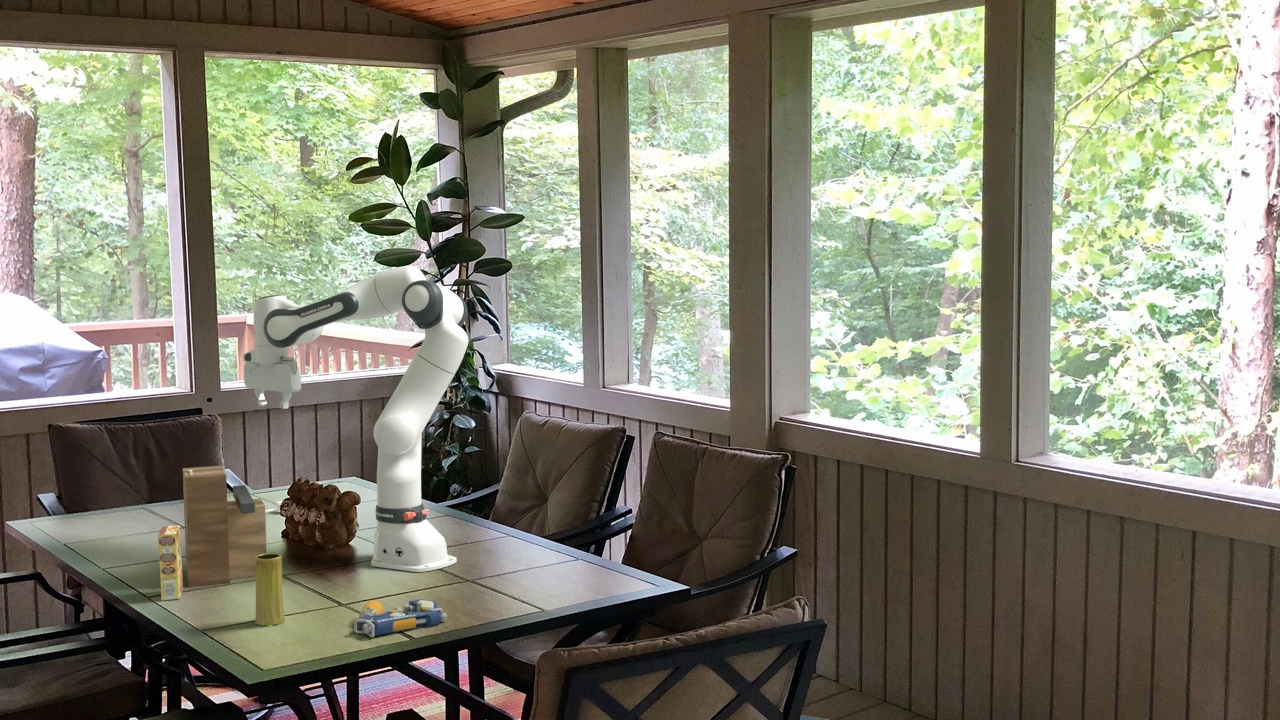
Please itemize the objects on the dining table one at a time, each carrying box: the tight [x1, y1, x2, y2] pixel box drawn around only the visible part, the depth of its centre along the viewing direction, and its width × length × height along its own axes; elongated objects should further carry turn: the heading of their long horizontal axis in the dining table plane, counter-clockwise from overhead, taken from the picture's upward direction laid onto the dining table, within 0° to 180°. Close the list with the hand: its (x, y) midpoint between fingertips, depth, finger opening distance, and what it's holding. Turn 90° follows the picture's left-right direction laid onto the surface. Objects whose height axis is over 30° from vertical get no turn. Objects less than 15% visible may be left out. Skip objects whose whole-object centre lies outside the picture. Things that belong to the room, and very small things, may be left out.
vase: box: [254, 552, 286, 627], centre depth 258 cm, size 6×6×14 cm
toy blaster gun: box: [353, 598, 448, 638], centre depth 258 cm, size 21×4×15 cm
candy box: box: [157, 525, 184, 601], centre depth 278 cm, size 9×4×15 cm, turn 16°
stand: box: [182, 465, 268, 588], centre depth 295 cm, size 14×18×26 cm
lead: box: [232, 484, 255, 514], centre depth 298 cm, size 24×3×2 cm, turn 23°
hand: (273, 407), depth 326 cm, fingers open, 8 cm apart
